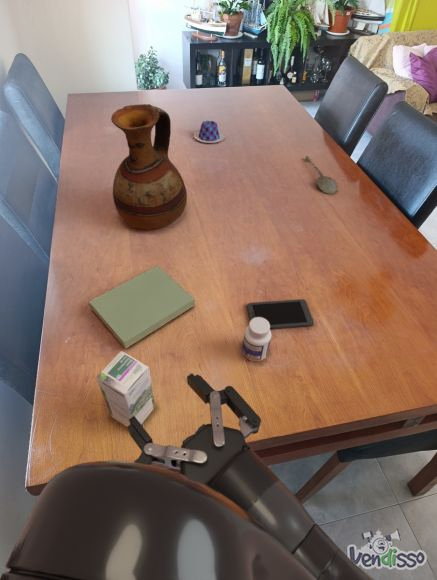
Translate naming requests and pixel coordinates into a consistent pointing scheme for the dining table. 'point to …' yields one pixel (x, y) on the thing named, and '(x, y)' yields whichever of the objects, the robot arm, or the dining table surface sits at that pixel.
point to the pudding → (209, 132)
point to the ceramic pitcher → (147, 170)
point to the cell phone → (282, 313)
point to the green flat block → (141, 305)
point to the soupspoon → (324, 181)
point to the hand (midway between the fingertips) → (161, 398)
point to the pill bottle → (257, 339)
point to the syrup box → (127, 389)
